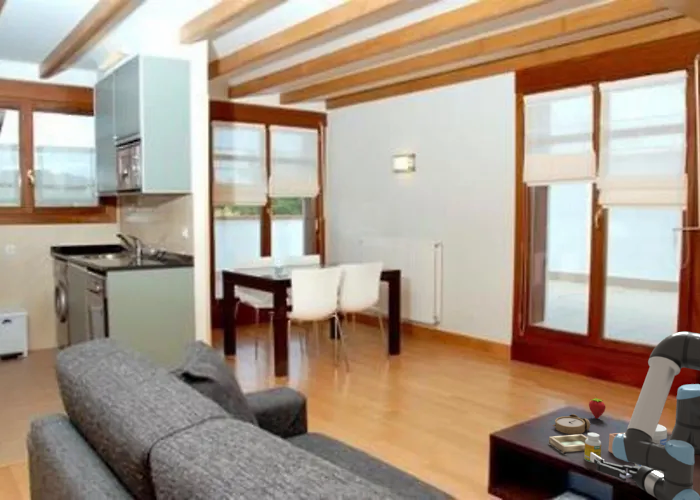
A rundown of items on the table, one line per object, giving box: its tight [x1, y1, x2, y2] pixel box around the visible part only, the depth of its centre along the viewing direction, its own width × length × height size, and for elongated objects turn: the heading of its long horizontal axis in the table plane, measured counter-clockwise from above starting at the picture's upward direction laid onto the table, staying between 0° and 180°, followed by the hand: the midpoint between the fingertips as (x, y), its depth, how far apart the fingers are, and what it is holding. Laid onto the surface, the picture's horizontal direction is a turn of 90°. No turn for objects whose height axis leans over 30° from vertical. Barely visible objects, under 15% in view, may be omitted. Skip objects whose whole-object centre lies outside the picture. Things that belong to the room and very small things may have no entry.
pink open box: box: [608, 432, 622, 455], centre depth 231 cm, size 7×7×7 cm
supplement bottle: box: [583, 432, 602, 463], centre depth 225 cm, size 5×5×10 cm
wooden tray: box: [548, 433, 588, 455], centre depth 238 cm, size 14×10×2 cm
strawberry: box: [588, 395, 606, 420], centre depth 270 cm, size 6×8×10 cm
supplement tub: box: [634, 423, 668, 473], centre depth 220 cm, size 10×10×15 cm
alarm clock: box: [552, 413, 592, 435], centre depth 257 cm, size 11×5×15 cm
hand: (608, 454), depth 216 cm, fingers open, 13 cm apart
